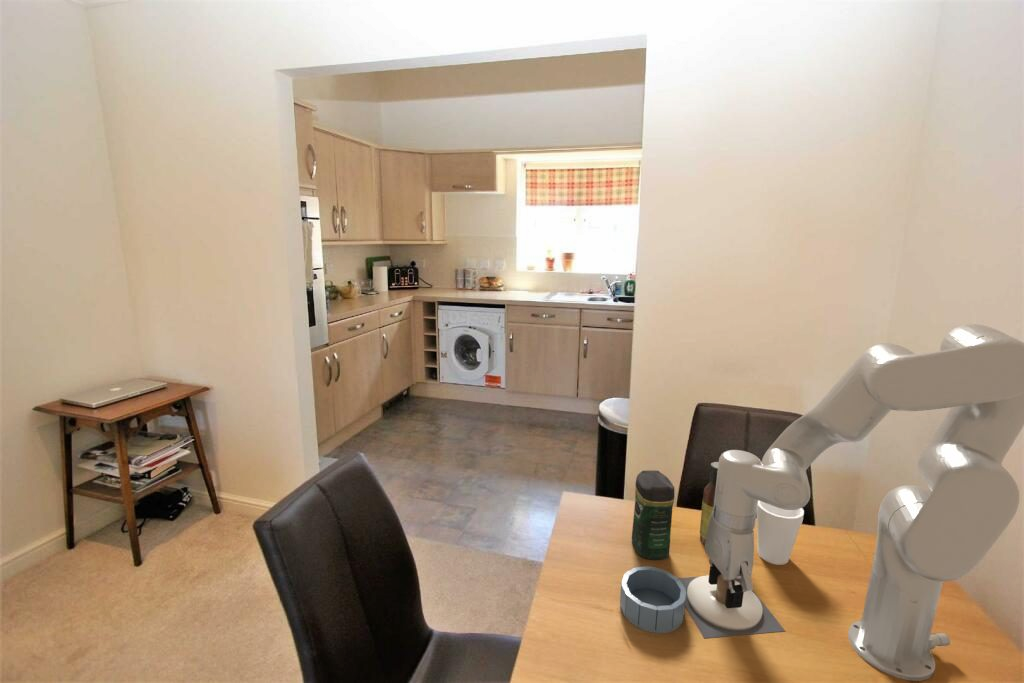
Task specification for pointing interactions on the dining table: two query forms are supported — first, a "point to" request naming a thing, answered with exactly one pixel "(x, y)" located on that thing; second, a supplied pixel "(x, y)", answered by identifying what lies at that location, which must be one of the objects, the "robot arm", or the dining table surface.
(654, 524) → the coffee jar
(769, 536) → the foam cup
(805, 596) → the dining table surface
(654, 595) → the bowl
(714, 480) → the sauce bottle
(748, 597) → the lid
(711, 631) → the mat
